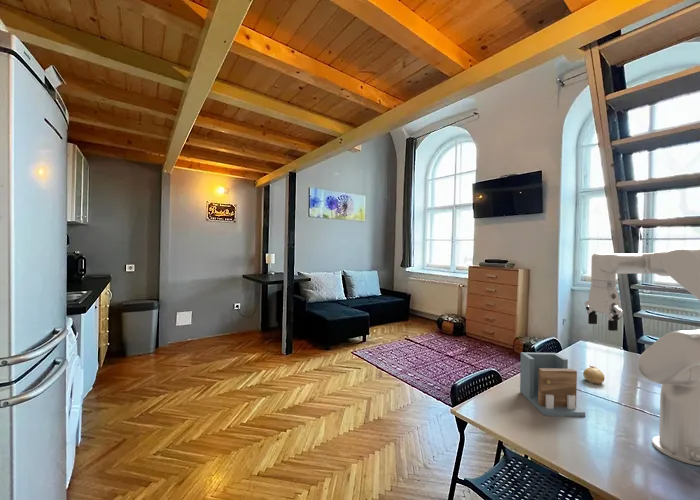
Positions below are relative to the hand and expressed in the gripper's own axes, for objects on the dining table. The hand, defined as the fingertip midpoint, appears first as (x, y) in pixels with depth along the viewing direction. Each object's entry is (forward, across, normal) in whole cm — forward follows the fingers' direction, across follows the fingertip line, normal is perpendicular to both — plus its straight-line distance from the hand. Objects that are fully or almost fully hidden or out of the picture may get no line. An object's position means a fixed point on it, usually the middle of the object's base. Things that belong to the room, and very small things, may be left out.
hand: (602, 327), depth 124 cm
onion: (+32, +20, -13) cm, 40 cm away
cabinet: (+31, +1, +20) cm, 37 cm away
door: (+30, -3, +20) cm, 36 cm away
